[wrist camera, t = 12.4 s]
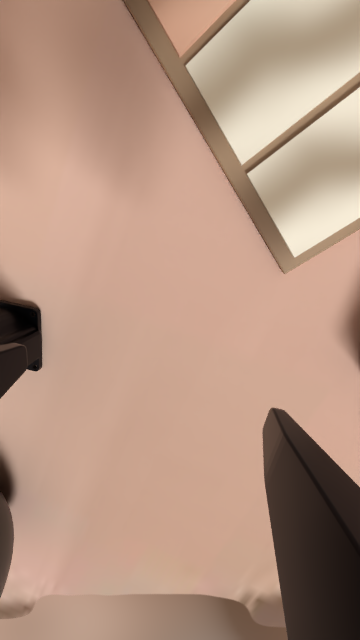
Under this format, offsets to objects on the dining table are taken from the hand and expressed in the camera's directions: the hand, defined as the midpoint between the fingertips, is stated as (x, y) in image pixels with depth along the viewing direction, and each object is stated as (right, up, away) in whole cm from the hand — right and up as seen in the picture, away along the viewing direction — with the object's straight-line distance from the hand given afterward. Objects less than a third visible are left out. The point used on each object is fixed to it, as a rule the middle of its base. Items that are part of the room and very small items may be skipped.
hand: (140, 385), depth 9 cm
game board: (+7, +17, +6) cm, 20 cm away
